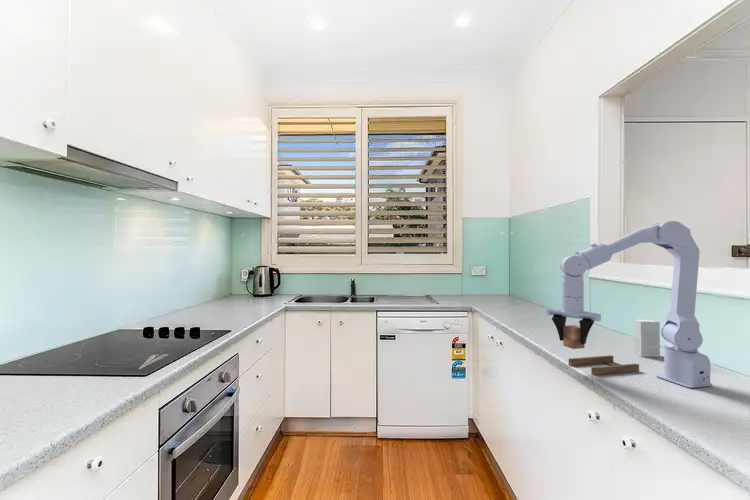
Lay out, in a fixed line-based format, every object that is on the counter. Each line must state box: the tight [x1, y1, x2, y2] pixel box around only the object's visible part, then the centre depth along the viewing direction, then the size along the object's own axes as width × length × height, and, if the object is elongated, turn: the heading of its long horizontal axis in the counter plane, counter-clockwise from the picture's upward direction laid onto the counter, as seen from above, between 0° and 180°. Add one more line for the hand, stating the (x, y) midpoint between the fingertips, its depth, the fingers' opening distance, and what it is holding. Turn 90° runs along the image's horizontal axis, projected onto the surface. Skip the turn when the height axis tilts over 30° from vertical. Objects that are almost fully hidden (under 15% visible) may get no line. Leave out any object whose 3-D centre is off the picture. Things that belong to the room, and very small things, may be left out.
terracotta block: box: [562, 324, 585, 350], centre depth 113 cm, size 4×4×6 cm
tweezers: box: [139, 353, 169, 370], centre depth 118 cm, size 17×5×2 cm, turn 4°
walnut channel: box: [568, 354, 640, 376], centre depth 115 cm, size 10×16×2 cm, turn 104°
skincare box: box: [633, 319, 661, 358], centre depth 129 cm, size 6×4×12 cm
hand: (572, 341), depth 113 cm, fingers closed on terracotta block, 5 cm apart
